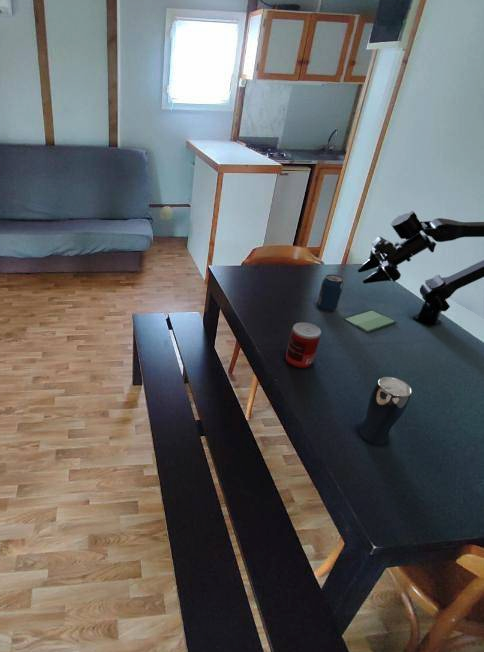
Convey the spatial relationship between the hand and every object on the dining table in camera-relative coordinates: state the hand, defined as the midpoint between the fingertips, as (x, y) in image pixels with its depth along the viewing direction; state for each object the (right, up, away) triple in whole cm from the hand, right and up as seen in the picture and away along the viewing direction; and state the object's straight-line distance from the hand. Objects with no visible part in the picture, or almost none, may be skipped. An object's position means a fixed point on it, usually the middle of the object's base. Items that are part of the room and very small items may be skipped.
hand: (360, 276), depth 139 cm
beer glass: (-20, -44, -43) cm, 65 cm away
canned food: (-28, -28, -18) cm, 44 cm away
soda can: (-8, -10, +9) cm, 16 cm away
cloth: (+4, -15, +2) cm, 16 cm away
